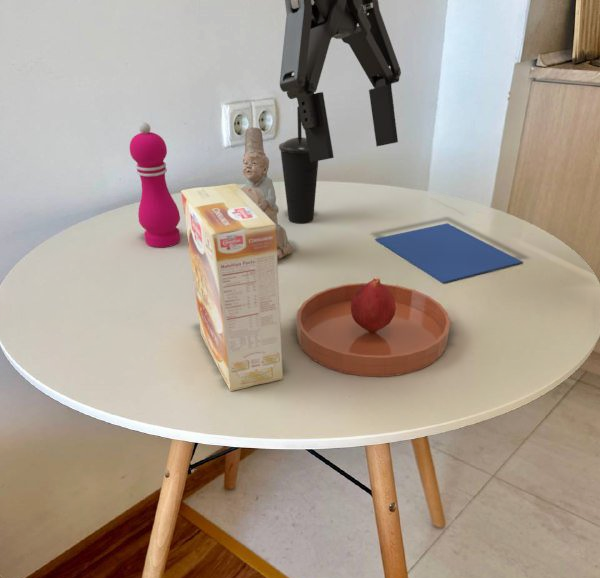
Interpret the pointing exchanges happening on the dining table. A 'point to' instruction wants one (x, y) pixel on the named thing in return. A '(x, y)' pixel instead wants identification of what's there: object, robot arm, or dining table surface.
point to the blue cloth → (447, 252)
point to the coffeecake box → (235, 283)
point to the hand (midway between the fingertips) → (356, 152)
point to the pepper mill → (154, 190)
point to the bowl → (372, 346)
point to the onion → (373, 306)
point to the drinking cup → (299, 177)
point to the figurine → (262, 185)
